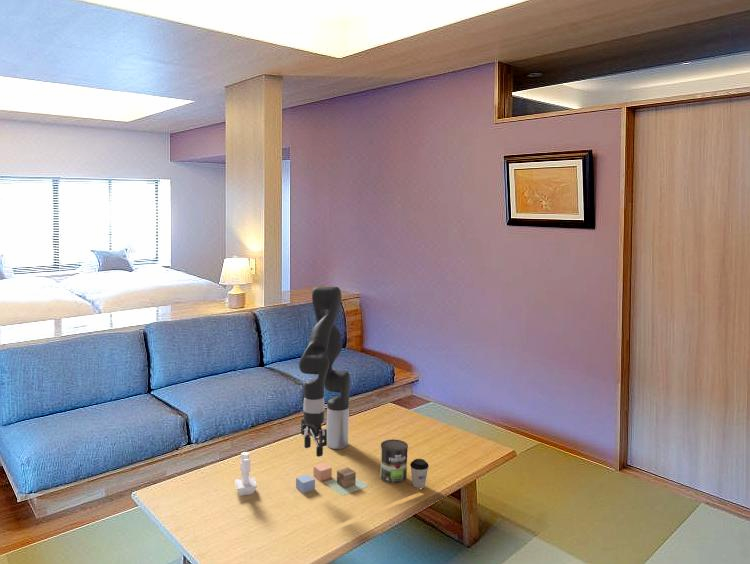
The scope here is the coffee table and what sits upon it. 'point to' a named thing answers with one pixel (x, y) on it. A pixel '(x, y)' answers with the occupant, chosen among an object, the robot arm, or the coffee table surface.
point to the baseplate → (343, 491)
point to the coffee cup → (419, 472)
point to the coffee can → (393, 461)
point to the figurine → (245, 477)
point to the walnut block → (346, 477)
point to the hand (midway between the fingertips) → (313, 451)
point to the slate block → (305, 483)
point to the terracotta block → (322, 471)
